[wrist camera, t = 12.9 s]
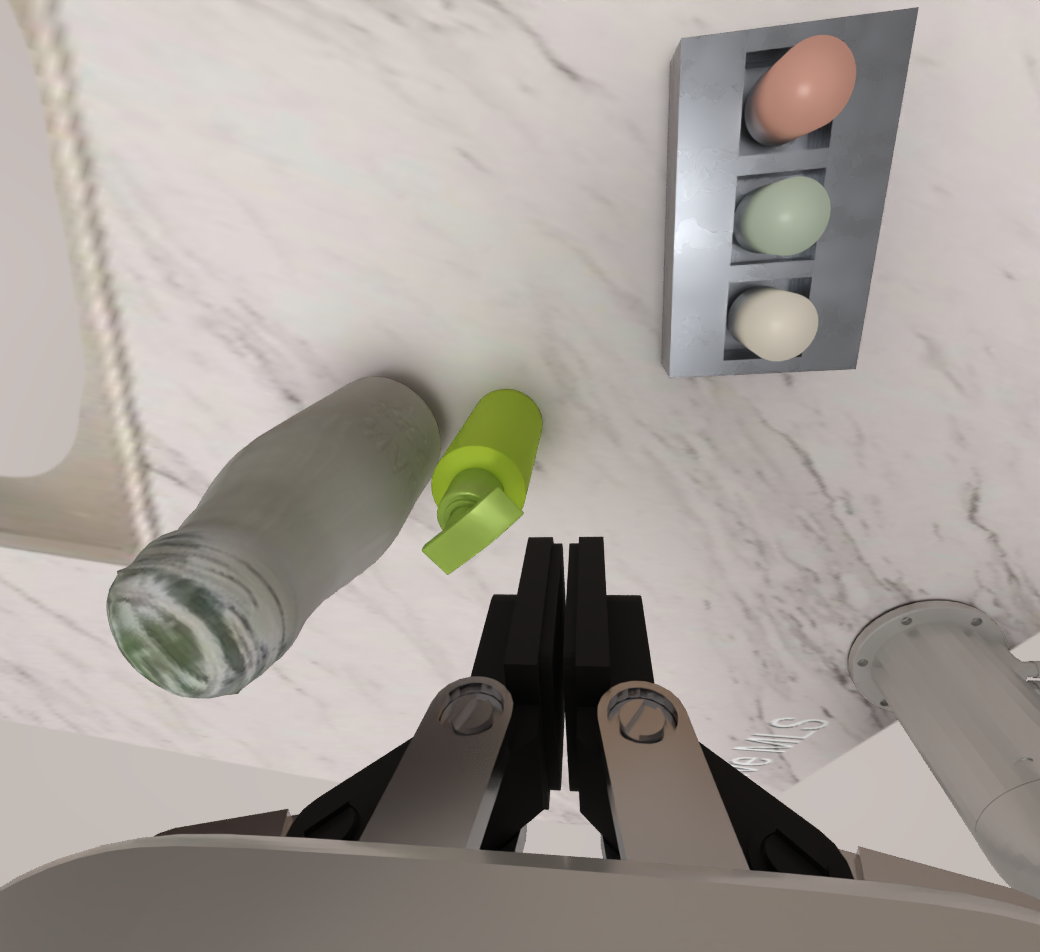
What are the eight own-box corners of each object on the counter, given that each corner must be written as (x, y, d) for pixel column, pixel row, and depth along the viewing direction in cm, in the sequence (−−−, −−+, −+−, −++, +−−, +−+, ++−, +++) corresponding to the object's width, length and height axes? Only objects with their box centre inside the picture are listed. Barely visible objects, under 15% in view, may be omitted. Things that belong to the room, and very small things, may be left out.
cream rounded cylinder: (793, 283, 35) (823, 290, 31) (785, 344, 37) (813, 359, 32) (729, 287, 36) (750, 295, 31) (725, 348, 38) (744, 362, 33)
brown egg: (821, 60, 30) (862, 29, 26) (811, 142, 32) (848, 126, 27) (747, 69, 31) (775, 40, 26) (741, 149, 32) (766, 135, 28)
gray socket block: (876, 36, 32) (918, 7, 28) (827, 355, 40) (855, 369, 35) (670, 62, 34) (681, 38, 30) (661, 363, 41) (669, 377, 37)
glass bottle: (316, 411, 46) (-17, 623, 21) (401, 340, 43) (130, 490, 17) (391, 496, 49) (178, 778, 23) (477, 437, 45) (338, 689, 20)
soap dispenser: (566, 418, 44) (551, 546, 26) (506, 469, 46) (453, 618, 28) (517, 365, 43) (466, 460, 24) (458, 420, 45) (370, 543, 27)
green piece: (802, 181, 33) (835, 172, 29) (794, 250, 35) (824, 252, 31) (735, 188, 34) (758, 180, 29) (730, 255, 36) (751, 258, 31)
